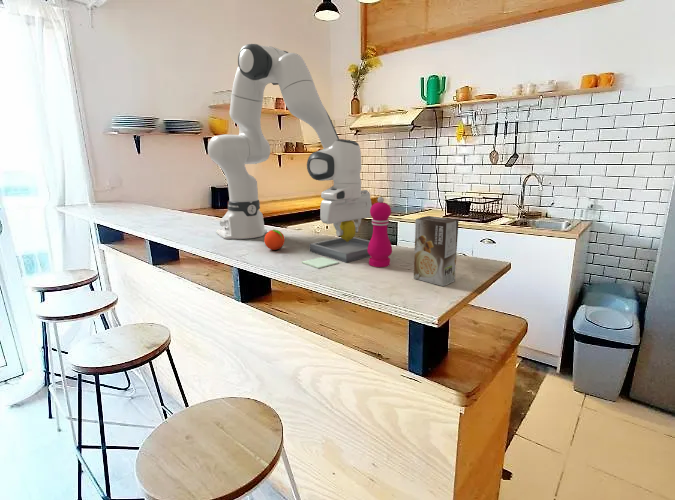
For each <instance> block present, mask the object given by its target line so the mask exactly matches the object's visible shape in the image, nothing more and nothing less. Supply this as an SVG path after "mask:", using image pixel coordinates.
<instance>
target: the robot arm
mask: <svg viewBox="0 0 675 500" xmlns="http://www.w3.org/2000/svg"><path fill="white" fill-rule="evenodd" d="M237 65H238V67H237V68H236V71H235V76H234V79H233V83H232V87H231V95H230V104H229V117H230V119H231V120H232V122H233V123H235V124H236V125H237V126H238V129H239V130H238V132H239V133H238V134H218V135H215V136H213V137H211V138H210V139H209V140H208V143H207V154H208V156H209V158H210V159H211V161H212V162H213V163H215V164H216V165H217V166H218V167H219V168H220V169H221V171H222V172H223V174H224V175H225V180H226V182H227V190H228V197H229V200H228V201H227V211H226V213H225V214H224V216H222V218H221V220H220V221H219V226H220V227H221V229H220V228H219V229H216V232H215V234H217V235H219V236H220V237H221V238H222V239H225V240H230V239H234V240H237V239H238V240H241V239H247V240H248V239H254V238H255V239H256V238H260V237H263V236H265V235H266V234H267V233H268V229H265V221H264V215H263V213H262V212H261V210H260V209H261V203H260V199H259V192H258V180H257V179H256V178H255V177H254V176H252V175H251V174H249V172H248V171H247V168H246V165H257V164H260V163H263V162H266V161H267V160H268V159H269V158H270V155H271V145H270V142H269V141H268V140H267V138H266V137H265V136H264V133H263V130H262V126H261V125H262V124H261V120H262V119H261V118H262V108H263V103H264V102H263V101H264V93H265V88H266V87H267V85H268V84H272V85H273V86H277V85H278V87H279V91H280V92H281V97H282V99H283V102H284V104H285V107H286V108H287V110H288V111H289V113H290V114H291V115H292V116H293V117H295V118H297V119H298V120H301V121H303V122H304V123H306V124H308V125H309V126H310V127H311V128H312V129H313V130H314V131H315V132H316V135H317V136H318V139H319V141H320V144H321V145H322V148H323V149H320V150H318V151H314V152H312V153H311V154H310V155H309V157H308V158H307V162H306V170H307V172H308V174H309V176H310V178H312V179H313V180H316V181H320V182H323V181H333V186H330V187H329V188H327V189H325V190H323V191H321V194H320V197H321V199H322V200H321V203H320V210H319V211H320V215H319V216H320V222H322V223H323V224H327V225H332V224H333V228H334V229H335V230H336V231H335V234H336V236H338V237H341V235H343V230H341V228H340V225H341V222H344V221H350V220H351V221H353V222H354V224H355V229H356V232H355V234H356V233H359V227H360V226H361V223H362V219H365V218H372V216H371V215H370V209H371V206H372V205H373V203H372V199H371V193H370V191H368V190H367V189H364V190H362V179H361V178H362V177H361V171H362V152H361V146H360V144H359V143H358V142H357V141H355V140H351V139H343V138H339V134H338V133H337V131H336V128H335V126H334V124H333V122H332V119H331V117H330V115H329V113H328V112H327V110H326V107H325V105H324V104H323V103H322V100H321V98H320V96H319V93H318V90H317V88H316V86H315V83H314V80H313V77H312V75H311V72H310V70H309V68H308V66H307V64H306V62H305V60H304V59H303V57H302V55H300V54H298V53H295V52H289V51H286V50H282V49H279V48H276V47H275V46H268V45H267V46H266V45H260V44H257V43H249V44H245V45H242V47H241V49H240V50H239V53H238V55H237Z"/></svg>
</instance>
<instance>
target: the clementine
mask: <svg viewBox="0 0 675 500" xmlns="http://www.w3.org/2000/svg"><path fill="white" fill-rule="evenodd" d="M285 241H286V239H285V236H284V234H283V232H282V231H280V230H278V229H271V230H269V231H267V233H265V234H264V240H263V242H264V244H265V246H266V247H267V248H268V249H269V250H272V251H277V250H279V249H281V248H282V247H283V246H284V245H285Z"/></svg>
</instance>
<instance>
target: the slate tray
mask: <svg viewBox="0 0 675 500" xmlns="http://www.w3.org/2000/svg"><path fill="white" fill-rule="evenodd" d="M369 242H370V240H369V239H365V238H360V237H355V236H354V237H353V238H352V239H351V240H349V242H346V241H345V240H344V239H342V238H341V237H336V238H331V239H326V240H322V241H317V242H311V243H309V252H310V253H314V254H316V255H321V256H322V257H325V258H328V259H332V260H335V261H338V262H343V263H351V262H354V261H358V260H361V259H365V258H368V257H369V258H370V257H371V256H370V255H369V254H368V252H367V250H368V244H369Z"/></svg>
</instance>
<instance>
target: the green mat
mask: <svg viewBox="0 0 675 500" xmlns="http://www.w3.org/2000/svg"><path fill="white" fill-rule="evenodd" d="M339 263H340V261H339V260H335V259H332V258H329V257H326V256H320V257H315V258H312V259H307V260H303V261H301V264H303V265H307V266H310V267H313V268H316V269H323V268H326V267H330V266H335V265H338V264H339Z"/></svg>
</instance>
